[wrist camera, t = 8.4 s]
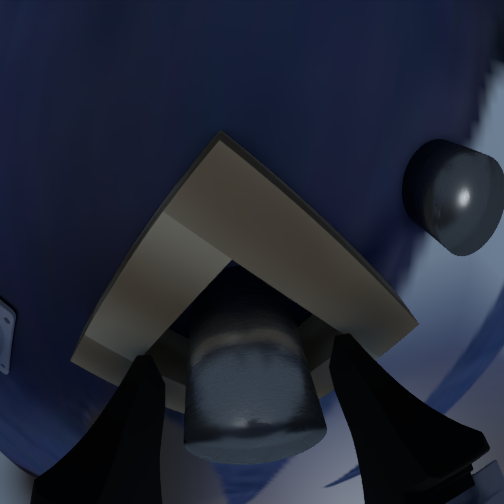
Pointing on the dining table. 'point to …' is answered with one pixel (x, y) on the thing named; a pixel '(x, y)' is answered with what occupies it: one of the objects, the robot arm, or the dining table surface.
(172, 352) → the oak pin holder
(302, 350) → the tall metal pin
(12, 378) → the dining table surface
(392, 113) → the dining table surface
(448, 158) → the short metal stub
